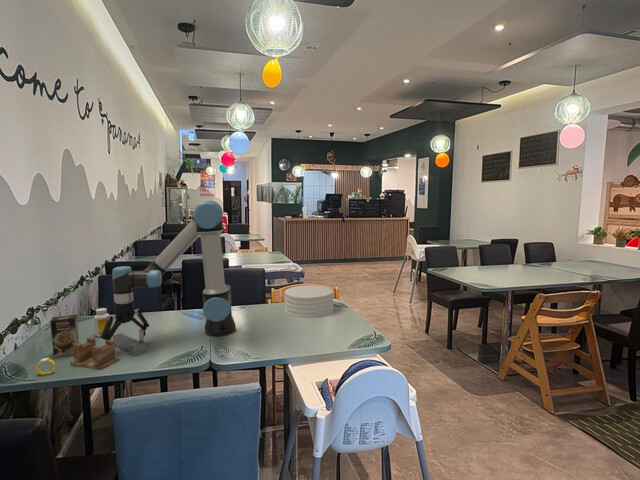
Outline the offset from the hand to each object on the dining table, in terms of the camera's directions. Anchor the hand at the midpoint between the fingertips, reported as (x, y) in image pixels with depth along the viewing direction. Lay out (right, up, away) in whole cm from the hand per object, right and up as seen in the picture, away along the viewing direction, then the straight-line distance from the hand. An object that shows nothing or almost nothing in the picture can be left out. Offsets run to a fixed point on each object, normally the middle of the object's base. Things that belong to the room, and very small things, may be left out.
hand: (127, 348), depth 173 cm
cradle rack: (-6, -2, -14) cm, 15 cm away
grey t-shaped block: (+1, 0, 0) cm, 1 cm away
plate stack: (+80, +7, +53) cm, 96 cm away
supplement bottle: (-20, +1, +18) cm, 27 cm away
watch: (-20, -4, -23) cm, 31 cm away
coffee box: (-24, -1, -4) cm, 24 cm away
